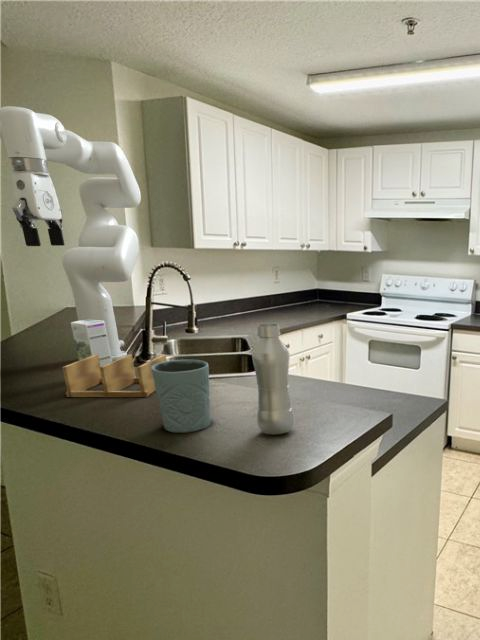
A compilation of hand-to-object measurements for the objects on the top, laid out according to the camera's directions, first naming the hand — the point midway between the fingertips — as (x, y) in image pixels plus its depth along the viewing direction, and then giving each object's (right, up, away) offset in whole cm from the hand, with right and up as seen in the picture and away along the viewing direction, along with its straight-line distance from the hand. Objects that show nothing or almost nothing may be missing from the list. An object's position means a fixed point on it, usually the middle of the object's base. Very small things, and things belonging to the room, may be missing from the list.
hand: (46, 245), depth 134 cm
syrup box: (+8, -32, +9) cm, 34 cm away
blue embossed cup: (+46, -45, -28) cm, 70 cm away
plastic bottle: (+64, -47, -31) cm, 85 cm away
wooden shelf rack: (+20, -36, -3) cm, 41 cm away
